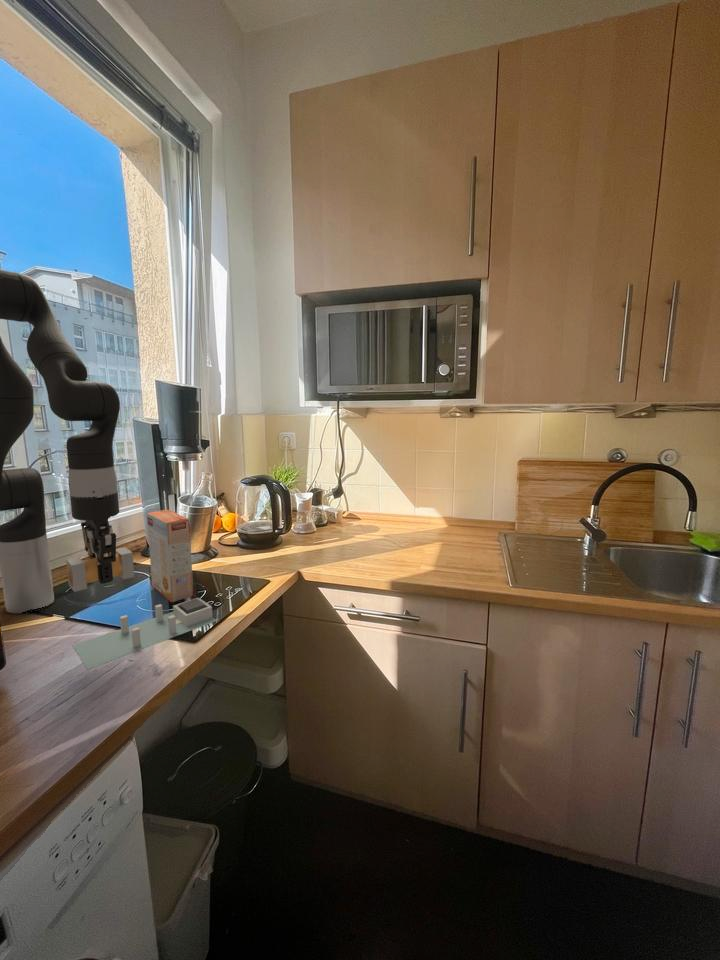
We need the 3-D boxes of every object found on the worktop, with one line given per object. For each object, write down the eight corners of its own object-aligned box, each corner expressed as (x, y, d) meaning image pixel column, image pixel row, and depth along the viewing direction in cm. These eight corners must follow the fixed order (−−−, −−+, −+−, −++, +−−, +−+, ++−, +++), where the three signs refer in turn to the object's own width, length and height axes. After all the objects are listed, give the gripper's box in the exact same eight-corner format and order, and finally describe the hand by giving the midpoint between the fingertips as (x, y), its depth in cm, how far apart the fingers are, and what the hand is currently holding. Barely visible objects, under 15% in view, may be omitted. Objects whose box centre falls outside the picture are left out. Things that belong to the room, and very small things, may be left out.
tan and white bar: (68, 584, 78) (65, 559, 77) (127, 570, 85) (125, 547, 84) (74, 591, 74) (71, 565, 74) (134, 576, 82) (132, 552, 81)
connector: (180, 616, 94) (179, 604, 93) (197, 610, 97) (196, 598, 96) (188, 622, 91) (187, 610, 91) (205, 616, 94) (204, 604, 94)
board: (72, 649, 82) (70, 629, 81) (195, 607, 100) (194, 590, 99) (87, 673, 75) (85, 651, 74) (217, 623, 92) (216, 605, 92)
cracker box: (195, 598, 105) (190, 518, 101) (170, 605, 101) (165, 522, 97) (174, 581, 115) (169, 508, 111) (151, 587, 111) (145, 511, 107)
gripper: (61, 488, 79) (70, 573, 82) (80, 500, 69) (89, 596, 72) (105, 483, 84) (112, 563, 87) (129, 494, 74) (136, 583, 77)
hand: (102, 577), depth 79 cm, fingers closed on tan and white bar, 4 cm apart
